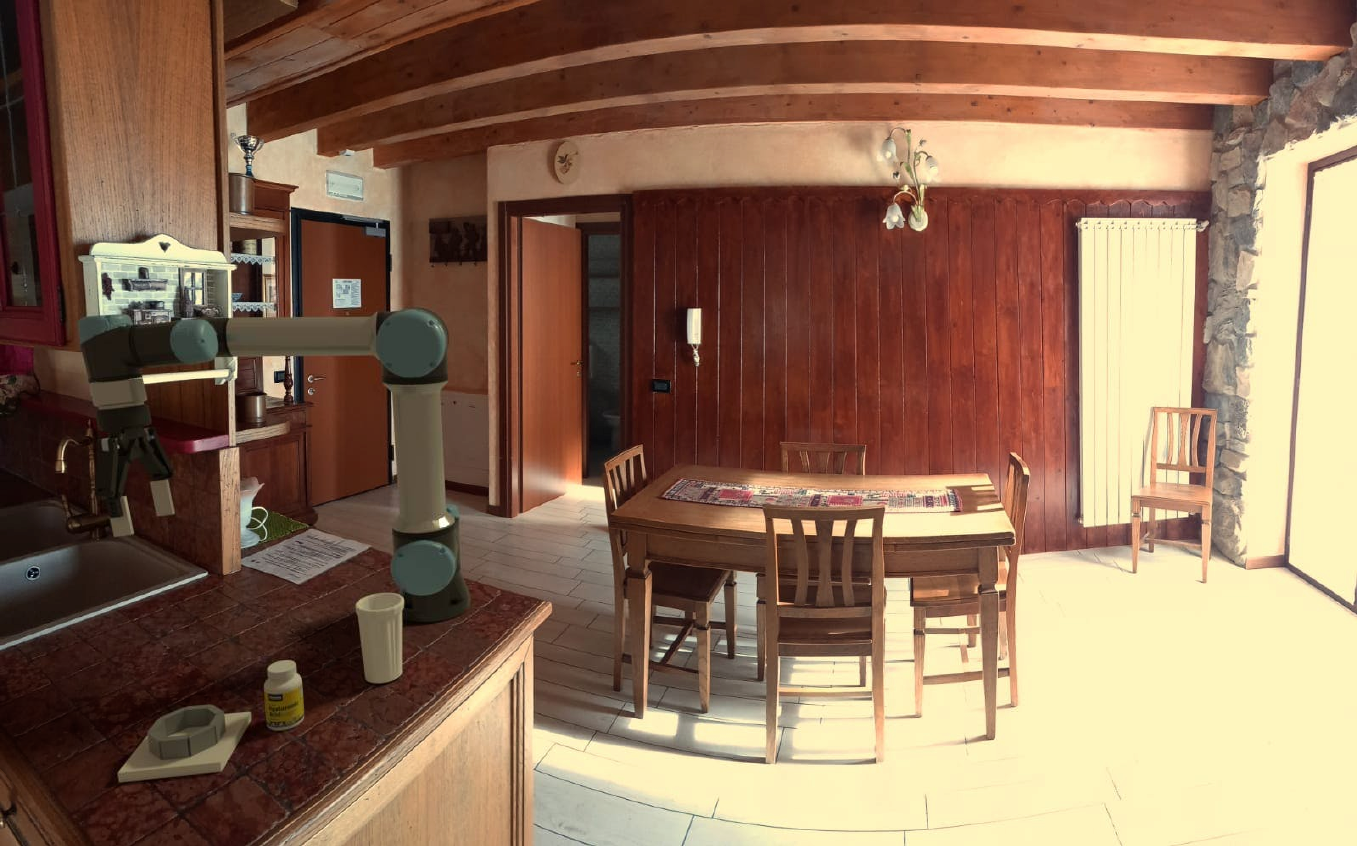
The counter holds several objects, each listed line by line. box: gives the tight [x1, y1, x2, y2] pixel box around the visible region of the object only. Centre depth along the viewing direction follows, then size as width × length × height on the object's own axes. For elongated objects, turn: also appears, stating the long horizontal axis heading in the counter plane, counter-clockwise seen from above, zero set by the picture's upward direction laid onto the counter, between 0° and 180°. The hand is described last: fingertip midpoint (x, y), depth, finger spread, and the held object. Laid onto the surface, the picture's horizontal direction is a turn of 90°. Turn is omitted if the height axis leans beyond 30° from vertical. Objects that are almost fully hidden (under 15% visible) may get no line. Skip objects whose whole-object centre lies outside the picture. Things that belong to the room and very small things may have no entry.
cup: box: [355, 592, 404, 684], centre depth 133 cm, size 8×8×14 cm
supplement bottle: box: [263, 659, 305, 732], centre depth 119 cm, size 5×5×10 cm
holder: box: [117, 704, 252, 783], centre depth 112 cm, size 13×13×4 cm
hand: (146, 524), depth 132 cm, fingers open, 13 cm apart
